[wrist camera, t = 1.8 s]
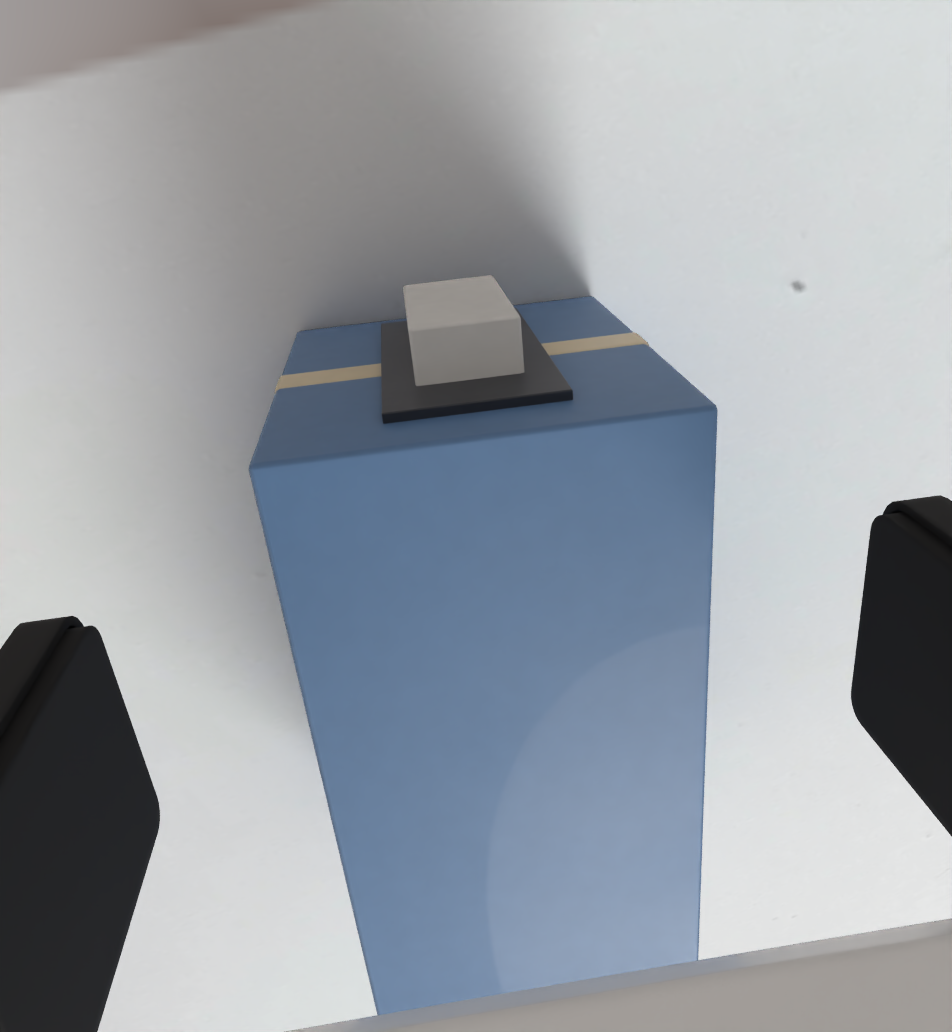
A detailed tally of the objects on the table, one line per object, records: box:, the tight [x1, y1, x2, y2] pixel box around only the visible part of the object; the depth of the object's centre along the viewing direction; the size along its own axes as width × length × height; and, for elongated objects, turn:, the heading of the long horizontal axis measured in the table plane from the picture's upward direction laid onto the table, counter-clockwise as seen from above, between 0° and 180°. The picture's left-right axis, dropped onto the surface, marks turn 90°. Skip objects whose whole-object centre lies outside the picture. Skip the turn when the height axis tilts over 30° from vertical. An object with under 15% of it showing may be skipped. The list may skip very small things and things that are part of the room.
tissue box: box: [249, 275, 717, 1015], centre depth 16 cm, size 14×6×7 cm, turn 5°
